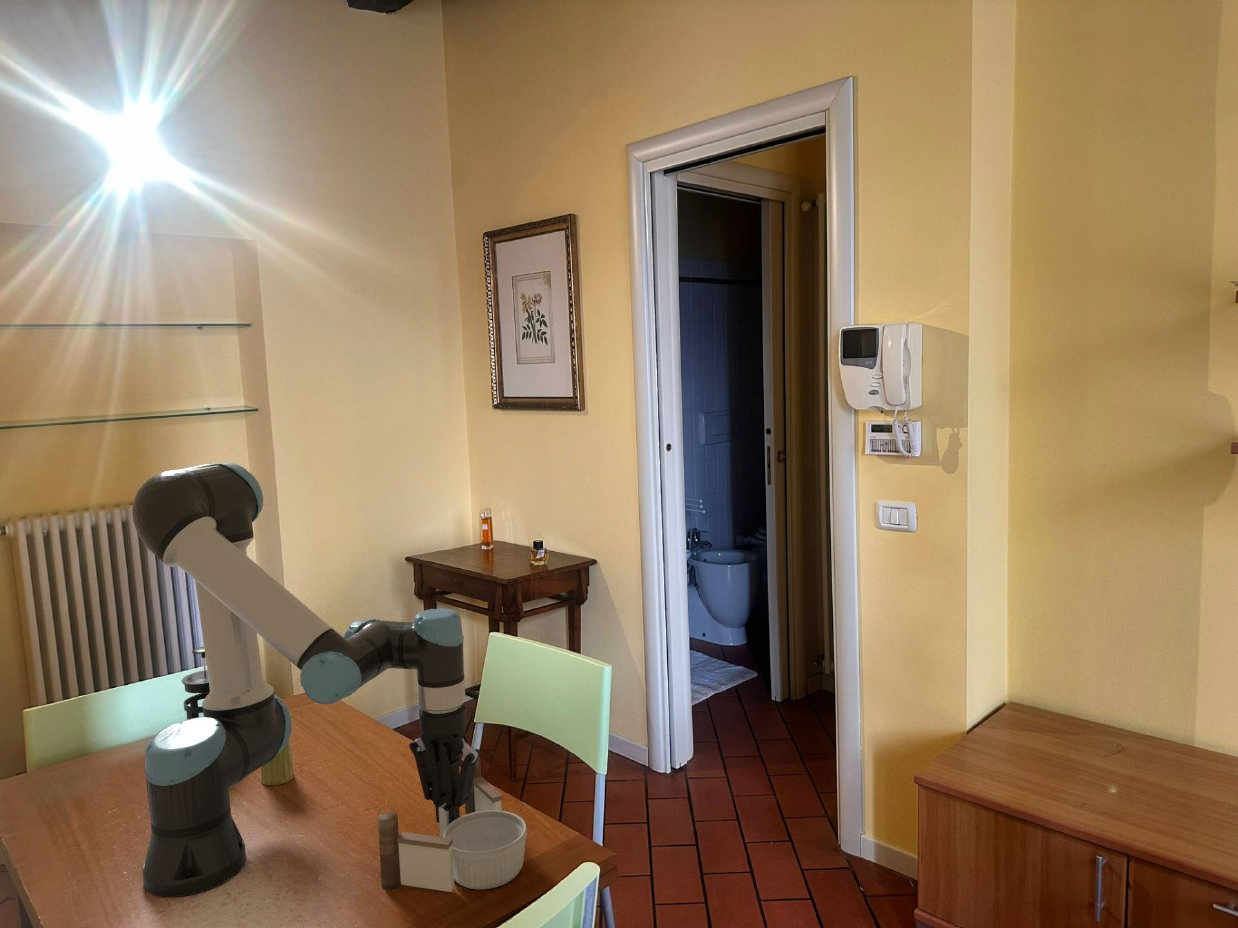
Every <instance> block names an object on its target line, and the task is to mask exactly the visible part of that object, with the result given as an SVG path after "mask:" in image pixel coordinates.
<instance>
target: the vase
mask: <svg viewBox="0 0 1238 928" xmlns="http://www.w3.org/2000/svg"><path fill="white" fill-rule="evenodd" d="M290 743H291V742H290V739H289V740H288V742H287V744H286V746H285V747H284V749H283V750H282V751H281V752H280V753H279V754H277V755H276V756H275V757H274V759H273V760H272V761H270V762H269V763H268V764H266V765H264V766H262V767H260V771H261V772H260V773H261V778H260V782H261V784H263V785H265V786H270V787H273V786H279V785H283V784H286V783H288V782H290V781H291V780H293V778H294V777H295V773H294V766H293V758H292V757H293V756H292V750H291V744H290Z"/></svg>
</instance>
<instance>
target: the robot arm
mask: <svg viewBox="0 0 1238 928" xmlns="http://www.w3.org/2000/svg"><path fill="white" fill-rule="evenodd" d="M263 507H264V495H263V491H262V488H261V486H260V483H259V481H258V480H257V478H256V477H255V475H253V474H252V473H251V472H250V471H248V470H247V469H246V468H245V467H244V466H242V465H240V464H236V463H233V462H211V463H205V464H201V465H194V466H191V467H186V468H180V469H173V470H166V471H163V472H159V473H158V474H155V475H153V476H152V477H150V478H148V479H147V480H146V481H145V482H144V483H143V484H142V486H140V487H139V489H138V490H137V492H136V495H135V497H134V499H133V502H132V508H131V509H132V510H131V511H132V512H131V513H132V521H133V525H134V528H135V531H136V534H137V535H138V537H139V538H140V540H141V542H142V543H143V545H145V547H146V548H147V549H148V550H149V551H150V552H151V553H152V554H153V555H154V556H155V557H156V558H157V559H159V560H160V561H161V562H162V563H163V564H164V565H166V566H167V567H170V568H175V567H179V568H180V569H181V570H183V571H184V572H185V573H186V574H187V575H188V576H189V577H191V578H192V579H193V580H194V583H195V590H196V591H195V592H196V597H197V604H198V606H197V607H198V611H199V613H198V614H199V618H200V619H199V621H200V626H201V634H202V635H201V636H202V642H203V647H204V650H205V666H206V670H207V672H208V679H209V687H210V693H209V694H208V695H207V697H206V698H205V699H202V703H201V707H202V708H203V713H202V714H203V716H202V717H200V716H199V718H192V719H188V720H187V719H184V721H183V722H175V723H173V724H171V725H169V726H167V727H165V728H163V729H161V730H160V731H159V732H157V733H156V734H155V735H154V736H153V737H152V738H151V739H150V740H149V741H148V744H147V745H146V748H145V753H144V754H145V755H144V757H145V764H144V776H145V783H146V789H147V800H148V810H149V819H150V828H151V829H150V830H151V831H150V832H151V835H150V839H149V843H148V847H147V852H146V856H145V860H144V863H143V865H142V882H143V887H144V889H145V890H146V891H147V892H148V893H150V894H153V895H156V896H159V897H170V898H171V897H182V896H183V897H185V896H189V895H194V894H198V893H202V892H205V891H207V890H211V889H213V888H215V887H218V886H220V885H222V884H224V883H225V882H227V881H229V880H231V878H234V876H236V875H237V874H238V873H239V872H240V871H241V870H242V869H243V867H244V866H245V864H246V861H247V851H246V850H247V849H246V843H245V840H244V839H243V836H242V835H241V832H240V831H239V828H238V826H237V824H236V823H235V820H234V819H233V816H232V811H231V809H232V808H231V797H230V789H231V788H233V787H234V786H235V785H237V784H238V783H240V782H241V781H243V780H244V779H246V778H247V777H249V776H250V775H251V774H253V773H255V771H257V770H258V769H261V767H262V766H264V765H266V764H268V763H269V762H270V761H272V760H273V759H274V757H275V756H276V755H277V754H279V753H280V752H281V751H282V750H283V749H284V747H285V746H286V744H287V742H288V740H289V741H290V737H291V735H292V728H293V727H292V725H293V724H292V716H291V713H290V709H289V708H288V706H287V704H284V703H282V702H283V700H282V698H281V697H279V696H278V695H276V694H275V688H274V687H273V686H272V685H270V684H268V683H266V682H265V681H264V678H263V670H262V662H261V654H260V646H259V638H258V635H259V636H260V637H261V638H262V639H263V640H265V641H266V642H267V643H268V644H270V646H271V647H273V648H274V649H275V650H277V652H278V653H280V655H282V656H284V657H285V658H286V659H287V660H288V661H289V662H290V663H292V664H293V665H294V666H296V668H297V669H299V670H300V674H299V677H300V679H299V680H300V681H299V682H300V686H301V687H302V688H303V691H304V693H305V695H306V696H307V697H308V699H310V700H311V701H313V702H314V703H316V704H320V705H333V704H335V703H338V702H339V701H341V700H343V699H345V698H347V697H350V696H352V694H354V693H355V692H357V691H358V690H359V689H360V688H361V687H363V686H364V685H365V684H367V683H368V682H370V681H371V680H373V679H375V678H377V677H378V676H379V675H381V674H383V673H384V672H385V671H386V670H389V669H397V670H398V669H402V670H415V671H416V675H417V678H416V679H417V700H418V701H417V702H418V707H419V709H418V714H419V715H418V717H419V730H420V731H421V733H420V737H418V738H416V739H415V740H413V741H411V742H410V743H409V749H410V751H411V752H412V753H411V754H413V756H414V760H415V765H416V768H417V773H418V776H419V780H420V785H421V788H422V789H421V790H422V793H423V797H424V799H425V800H426V801H432V802H433V805H434V806H435V820H436V822H437V823H438V825H439V837H443V833H444V831H445V829H446V827H447V826H448V825H449V824H450V823H451V822H453V821H454V820H456V819H458V818H460V817H461V814H460V810H461V809H460V808H461V807H463V806H465V803H466V802H467V801H469V799H470V794H471V788H472V782H473V777H474V771H475V765H476V761H477V760H478V758H479V757H480V756H481V753H482V752H481V750H480V748H475V749H473V747H471V745H469V739H468V737H467V736H466V728H467V723H468V722H467V705H466V703H465V702H466V684H465V683H466V682H465V668H464V667H465V666H464V665H465V663H464V661H465V660H464V642H465V641H464V639H465V637H464V634H463V627H462V626H463V625H462V617H461V615H460V614H459V613H458V611H456V610H454V609H452V608H451V609H450V608H443V607H442V608H441V607H440V608H430V609H426V610H423V611H419V612H418V613H417V614H416V615H415V616H414V620H413V621H414V622H410V621H409V622H408V621H394V620H393V621H392V620H380V619H376V618H373V619H372V618H371V619H365V620H364V619H363V620H362V619H360V620H355V621H353V622H352V623H351V624H350V625H349V626H348V629H347V630H346V631H345V632H344V636H343V635H342V634H341V633H339V632H338V631H336V630H335V629H334V628H333V627H332V626H331V625H329V624H328V623H327V622H326V621H324V620H323V618H321V617H320V616H318V614H316V613H315V612H314V611H313V610H312V609H310V608H309V607H308V606H307V605H306V604H305V603H303V602H302V601H301V600H300V599H298V597H296V596H295V595H294V594H293V593H291V592H290V591H289V590H288V589H287V588H286V587H285V586H283V585H282V584H281V583H280V582H278V580H276V579H275V578H274V577H273V576H271V575H270V574H269V572H266V571H265V570H264V568H262V567H261V566H260V565H259V564H257V563H256V562H254V560H253V559H251V558H250V557H249V556H248V554H247V548H248V546H249V545H250V544H251V542H252V541H253V540H254V538H255V534H254V526H253V525H254V524H253V523H254V522H255V521H256V520H257V519H258V518H259V515H260V514H261V513H262V511H263ZM461 756H462V757H461ZM461 761H462V763H461ZM460 764H461V765H460Z"/></svg>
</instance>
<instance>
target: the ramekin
mask: <svg viewBox="0 0 1238 928" xmlns="http://www.w3.org/2000/svg"><path fill="white" fill-rule="evenodd" d="M527 829H528V828H527V825H526V822H525V820H524V819H523V818H522V817H521V816H519V815H517V814H515V813H513V812H510V811H505V810H502V811H499V810H486V811H478V812H474V813H470V814H467V815H465V814H463V815H462V816H460V818H458V819H456V820H454V821H453V822H451V823H450V824H449V825H448V826H447V827H446V829H445V831H444V833H443V837H445V838H453V844H452V850H453V870H454V882H456V883H457V884H459V885H461V886H462V887H464V888H466V889H467V888H468V889H470V890H472V889H473V890H489V889H494V888H498V887H500V886H503V885H507V884H508V883H510V882H511V881H513V880H514V879H515V878H516V877H517V875H518V874H519V873H520V872H521V870H522V868H523V864H524V860H525V850H526V840H527V836H528V830H527Z"/></svg>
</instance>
